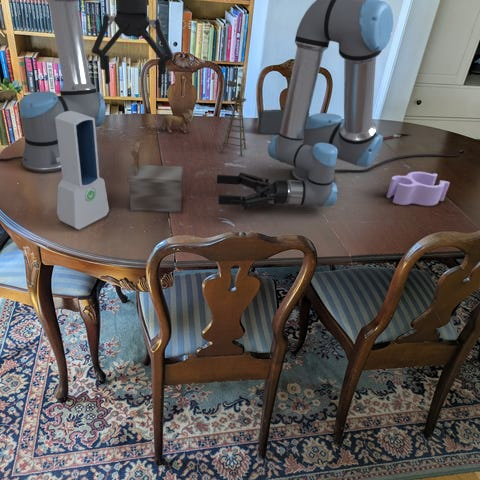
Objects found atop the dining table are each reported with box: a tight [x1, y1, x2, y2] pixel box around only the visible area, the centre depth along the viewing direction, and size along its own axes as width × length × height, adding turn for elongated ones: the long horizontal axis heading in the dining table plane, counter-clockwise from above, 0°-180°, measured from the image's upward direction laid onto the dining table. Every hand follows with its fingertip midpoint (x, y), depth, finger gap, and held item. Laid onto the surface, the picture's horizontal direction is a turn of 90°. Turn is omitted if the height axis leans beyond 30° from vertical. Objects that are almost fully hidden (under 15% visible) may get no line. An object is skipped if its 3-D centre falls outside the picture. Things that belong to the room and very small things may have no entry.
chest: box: [128, 171, 183, 213], centre depth 141 cm, size 15×9×10 cm, turn 94°
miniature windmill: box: [221, 72, 247, 156], centre depth 177 cm, size 9×8×30 cm
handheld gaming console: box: [257, 109, 310, 135], centre depth 205 cm, size 23×3×10 cm, turn 108°
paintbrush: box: [383, 133, 409, 141], centre depth 213 cm, size 31×3×1 cm, turn 126°
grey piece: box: [126, 141, 184, 184], centre depth 136 cm, size 16×9×9 cm, turn 94°
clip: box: [386, 171, 450, 207], centre depth 162 cm, size 20×12×7 cm, turn 109°
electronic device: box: [55, 111, 110, 231], centre depth 124 cm, size 12×8×30 cm, turn 148°
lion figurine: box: [158, 109, 194, 134], centre depth 194 cm, size 15×5×9 cm, turn 110°
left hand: (134, 84), depth 124 cm, fingers open, 13 cm apart
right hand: (217, 188), depth 142 cm, fingers open, 13 cm apart
